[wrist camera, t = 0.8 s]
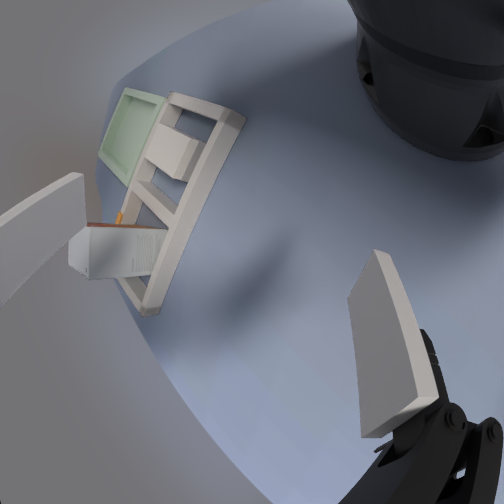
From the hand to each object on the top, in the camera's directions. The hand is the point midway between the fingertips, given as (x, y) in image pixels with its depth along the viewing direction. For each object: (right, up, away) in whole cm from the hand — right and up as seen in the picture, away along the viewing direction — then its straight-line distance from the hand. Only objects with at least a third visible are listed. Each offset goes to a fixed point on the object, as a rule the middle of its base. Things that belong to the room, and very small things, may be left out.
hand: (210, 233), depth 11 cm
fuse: (-6, +11, +19) cm, 23 cm away
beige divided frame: (-9, +5, +21) cm, 24 cm away
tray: (-16, +18, +26) cm, 35 cm away
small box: (-12, 0, +24) cm, 27 cm away
